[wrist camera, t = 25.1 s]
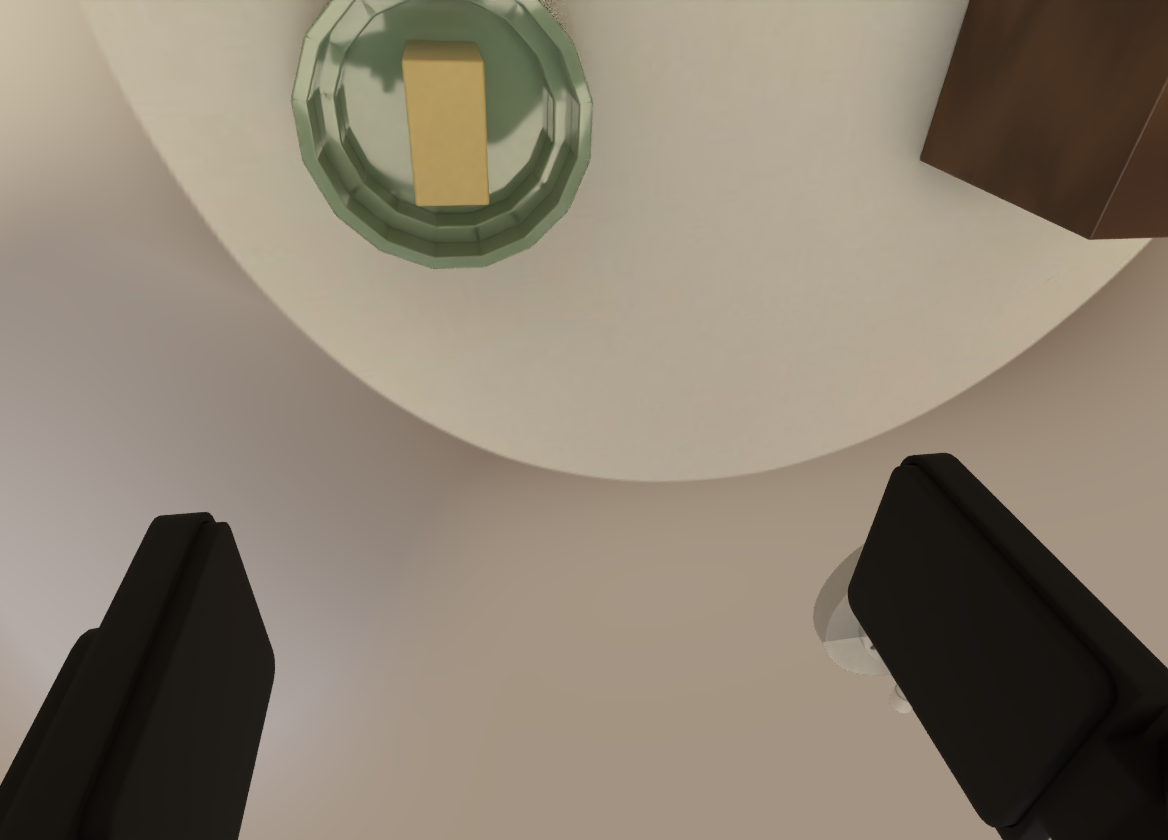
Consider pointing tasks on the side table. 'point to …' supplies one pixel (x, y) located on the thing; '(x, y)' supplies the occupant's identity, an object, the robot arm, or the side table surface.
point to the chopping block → (1062, 112)
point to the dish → (381, 138)
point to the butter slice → (446, 122)
